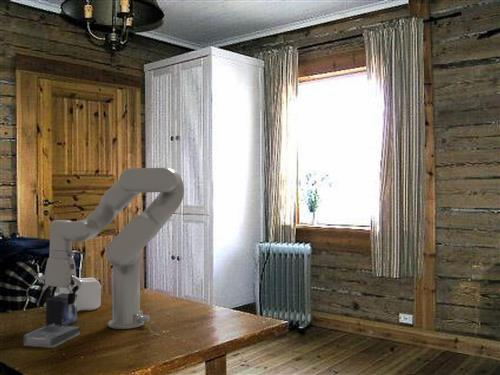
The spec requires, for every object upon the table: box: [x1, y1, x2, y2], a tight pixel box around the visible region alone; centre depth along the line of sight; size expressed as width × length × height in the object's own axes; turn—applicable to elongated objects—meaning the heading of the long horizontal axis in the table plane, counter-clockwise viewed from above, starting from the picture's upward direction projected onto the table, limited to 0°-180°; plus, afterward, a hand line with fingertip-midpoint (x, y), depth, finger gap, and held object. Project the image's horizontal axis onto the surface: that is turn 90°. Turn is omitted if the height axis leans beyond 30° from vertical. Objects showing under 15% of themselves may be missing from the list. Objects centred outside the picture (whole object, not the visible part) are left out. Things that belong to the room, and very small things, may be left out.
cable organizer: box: [58, 277, 102, 312], centre depth 206 cm, size 15×11×12 cm
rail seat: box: [23, 323, 81, 349], centre depth 164 cm, size 10×14×3 cm
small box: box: [45, 293, 78, 327], centre depth 180 cm, size 11×6×10 cm, turn 168°
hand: (59, 302), depth 180 cm, fingers open, 9 cm apart
